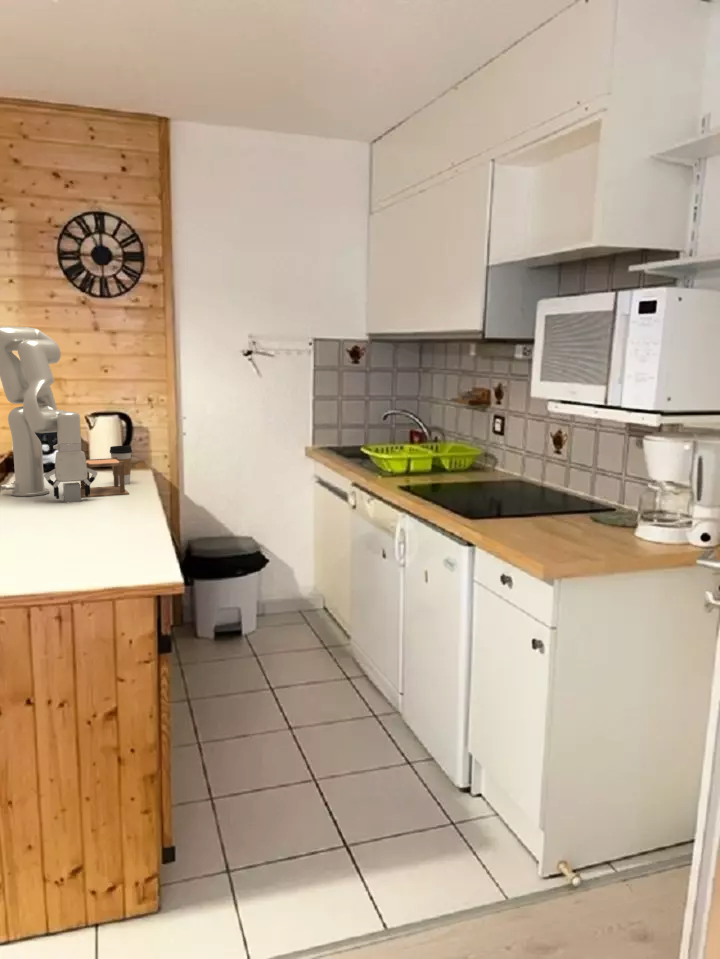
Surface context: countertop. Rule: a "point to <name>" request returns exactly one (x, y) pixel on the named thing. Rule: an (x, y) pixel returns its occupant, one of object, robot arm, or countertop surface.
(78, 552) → the countertop surface
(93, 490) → the frame
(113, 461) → the trapdoor
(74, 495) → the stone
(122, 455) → the coffee cup
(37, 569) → the countertop surface
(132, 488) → the countertop surface
